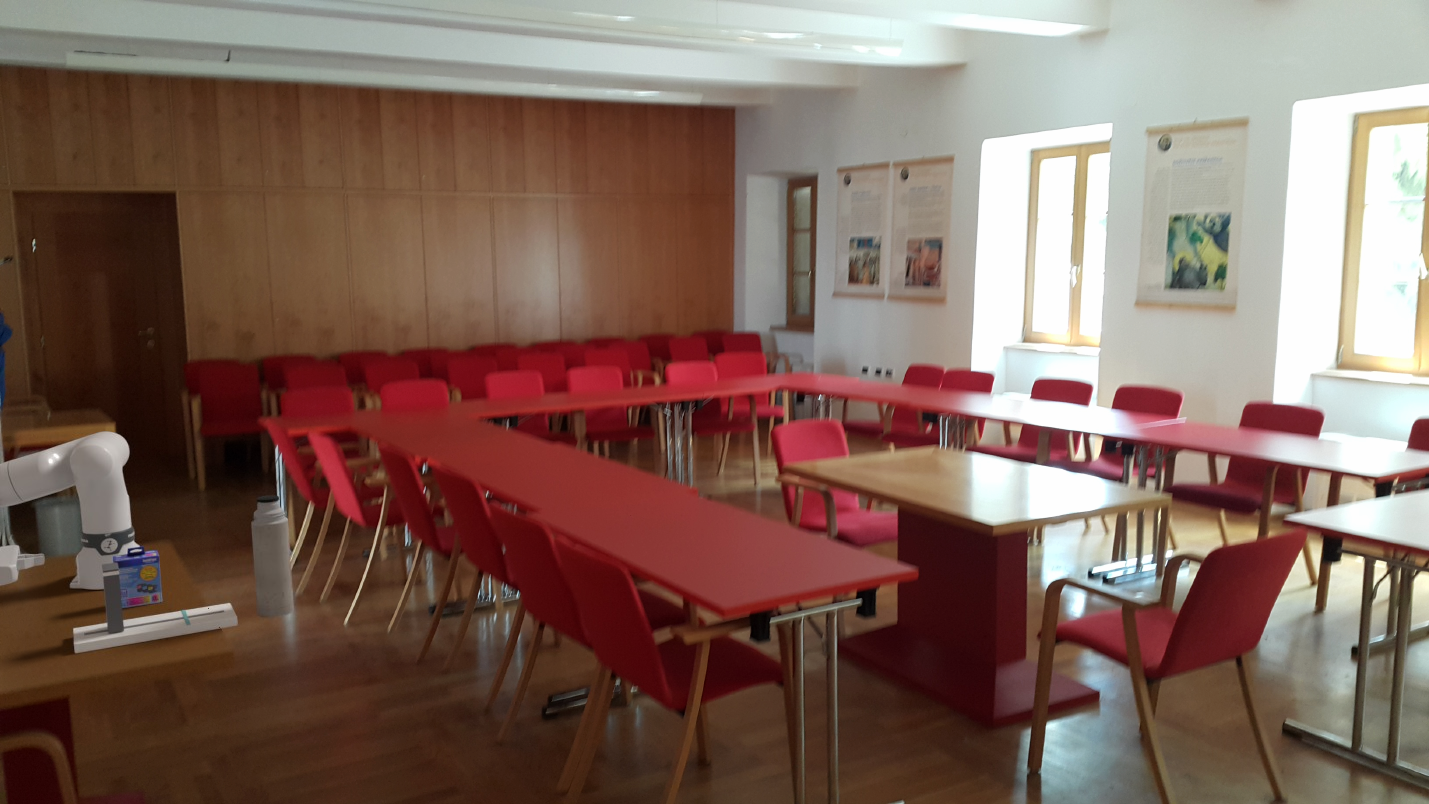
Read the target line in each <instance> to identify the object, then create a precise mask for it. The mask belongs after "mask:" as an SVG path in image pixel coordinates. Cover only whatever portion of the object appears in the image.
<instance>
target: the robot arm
mask: <svg viewBox="0 0 1429 804" xmlns="http://www.w3.org/2000/svg"><path fill="white" fill-rule="evenodd" d="M129 457H130V445H129V444H128V442H127V440H126V439H125V437H123V436H122V435H121V434H118V433H117V432H112V431H98V432H96V433H93V434H88V435H86V436H83V437H80V438H78V439H74V440H71V441H69V442H65V443H61V444H59V445H56V446H53V447H51V448H48V449H44V450H41V451H37V452H35V453H31V454H27V455H24V456H21V457H17V458H15V459H11V460H7V461H5V462H1V463H0V509H1V508H5V507H6V508H7V507H10V506H11V507H12V506H15V505H20V504H22V503H26V502H29V501H32V500H35V499H39V498H42V497H46V496H48V495H52V494H55V493H58V492H61V491H64V490H67V489H69V488H71V487H74V486H75V487H76V488H75V489H76V493H77V495H78V498H79V499H78V500H79V506H80V516H81V527H82V531H81V533H80V541H81V546H82V548H81V550H80V552H78V554H76V557H75V567H76V576H75V577H74V578H73V579H72V580H71V582H70V584H69V588H70V589H84V590H104V583H103V573H102V564H110V563H113V556H117V555H124V554H127V551H128V548H134V547H141V546H140V544H138V543H136V542H135V539H136V538H135V529H134V526H133V525H132V518H131V517H132V515H131V504H130V496H129V494H128V491H127V487H126V483H125V477H124V473H123V467H124V466H125V465H126V463H127V462H128V460H129ZM137 551H142V550H141V549H136V550H132V551H130V552H137ZM45 561H46V560H45V554H44V553H38V554H37V553H36V554H34V553H33V554H32V553H31V554H30V553H21V551H20V546H19V545H16V544H11V545H4V546H0V586H5V585H9V584H12V583H15V582H17V581H18V579H19V578H18V577H19V571H21V570H26V569H30V568H32V567H37V566H43V565H44V564H45Z"/></svg>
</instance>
